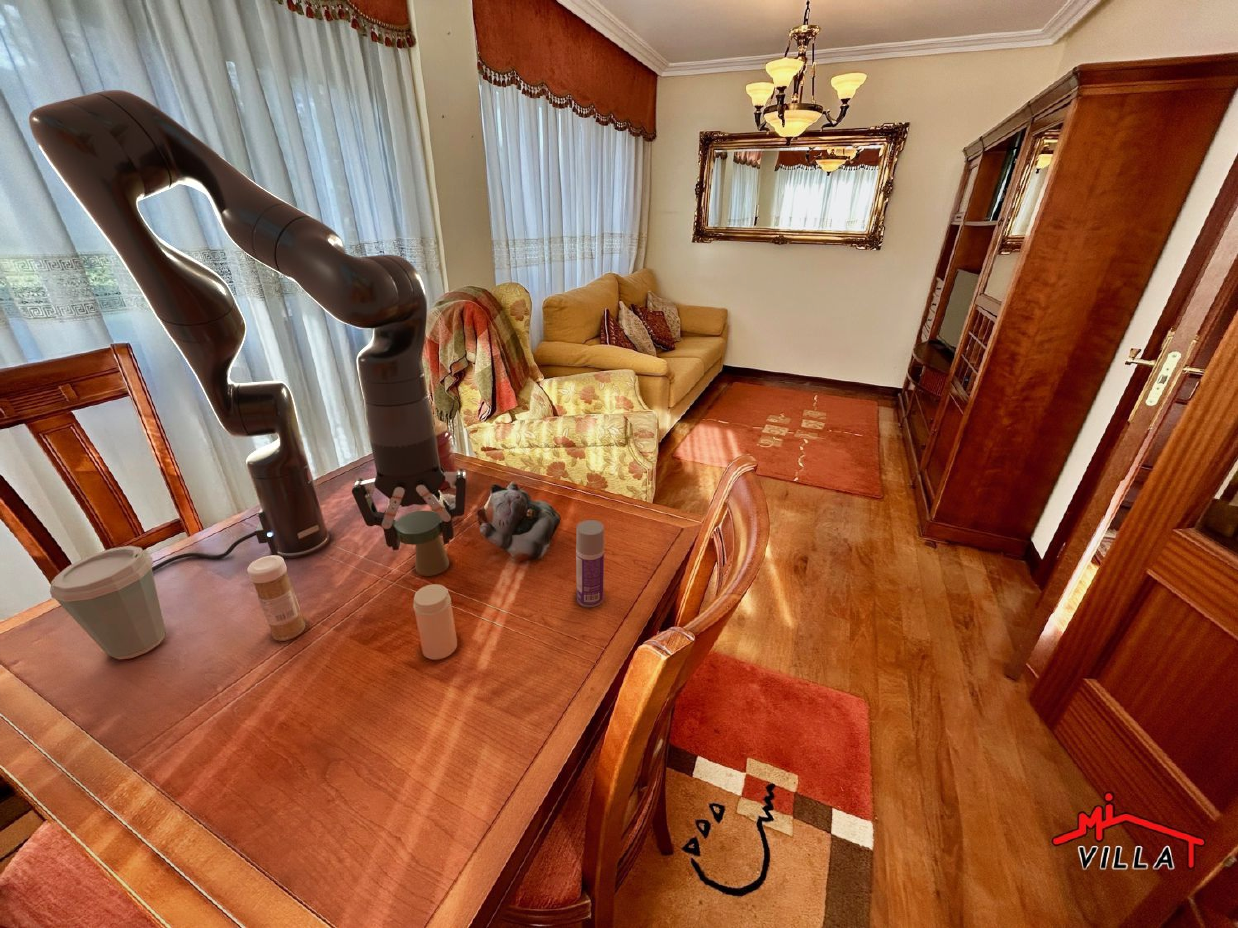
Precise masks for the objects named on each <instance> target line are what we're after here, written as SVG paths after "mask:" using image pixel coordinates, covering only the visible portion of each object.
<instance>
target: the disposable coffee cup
mask: <svg viewBox="0 0 1238 928" xmlns="http://www.w3.org/2000/svg"><path fill="white" fill-rule="evenodd" d="M152 567H154V560H153V557H152V556H151V555H150V553H149V552H146V551H144V550H143V547H140V546H134V545H124V546H119V547H112V548H109V549H105V550H103V551H100V552H97V553H94V554H90V555H88V556H86V557H84V558H82V559H79V560H78V561H75V562H74V563H71V564H69V565H68V566H66V568H64V569H62V571H61V572H59V573H57V574H56V576H54V578H53V579H52V580H51V582H50V589H49V594H50V595H51V598H52V599H55V600H56V601H57V602H58V603H59V605H60V606H61V607H63V609H64V610H65V611H66V613H68V614H69V615H70V616H71V617H72V619H74V621H75V622H76V623H77V624H78V625H79V627H81V628H82V629H83V630H84V631H85V633H86V634H87V635H89V637H90V638H91V639H92V640H93V641H94V642H95V644H97V645H98V646H99V647H100V649H102V651H103V652H104V653H105V654H106V655H108V656H110V657H112V658H114V659H116V660H126V659H127V660H128V659H133V658H137V657H138V656H141V655H144V654H146V653H149V652H150V651H152V650H153V649H154V648H156V647H157V646H159V645H160V643H161V642H163V640H164V639H165V638H166V637H165V634H166V626H165V621H164V617H163V612H162V607H161V604H160V598H159V596H158V589H157V586H156V581H155V577H154V571H153V572H152Z"/></svg>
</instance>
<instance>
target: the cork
mask: <svg viewBox="0 0 1238 928" xmlns="http://www.w3.org/2000/svg"><path fill="white" fill-rule="evenodd" d="M414 551H415V553H414V554H415V555H414V556H415V571H416V573H417V574H419V575H421V576H426V577H431V576H436V575H439V574H441V573H443V572H445V571H446V570H447V569H448V568H449V566H450V561H449V557H448V555H447V551H446V548H445V544H444V542H443V538H442V536H441V534H440V535H439V536H438V537H437V538H436V539H434V540H432V541H430V542H427V543H423V544H417V545H414Z"/></svg>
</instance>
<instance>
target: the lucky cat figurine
mask: <svg viewBox="0 0 1238 928" xmlns="http://www.w3.org/2000/svg"><path fill="white" fill-rule="evenodd" d="M475 515H476V520H477V523H478V526H479V533H480V535H481V536H482V537H483V538H484V539H485V540H486V541H487V542H489V543H491V544H492V545H494V546H496V547H498V548H499V549H502V550H503V551H505V552H507V553H509V554H510V555H511V557H512V558H513V559H514V560H516V561H519V562H529V561H535V560H537V559H539V558H542V557H544V556H545V555H546V553H547V552H548V551H549V549H550V546H551V541H552V538H553V536H554V535H555V532H556V530H557V529H558V527H559V525H560V524H561V520H562V517H561V514H559V513H558V512H557V511H556V509H555V508H554V507H553V506H552V505H551V504H550V503H548V502H546V501H544V500H532V496H531V495H530V494H529V493H527V491H525V490H524V489H521V488H519V486H518V484H517V483H515V482H513V481H512V482H509V485H507V487H503V486H502V485H499V484H492V485H491V486H490V492H489V496H488V500H487V501H486V503H485V505H484V506H483V507H481V508H477V509H476V511H475Z"/></svg>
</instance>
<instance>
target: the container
mask: <svg viewBox="0 0 1238 928" xmlns="http://www.w3.org/2000/svg"><path fill="white" fill-rule="evenodd" d="M575 542H576V543H575V544H576V545H575V567H576V568H575V570H576V571H575V573H576V574H575V575H576V577H575V578H576V579H575V581H576V602H577V603H578V604H579V605H580V606H582V607H583V608H584V607H585V608H595V607H598V606H599V605H601V604H602V602H603V600H604V575H605V526H604V524H603V523H602V522H601V521H599V520H594V519H587V520H582V521H580V522H578V523H577V524H576V540H575Z"/></svg>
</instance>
